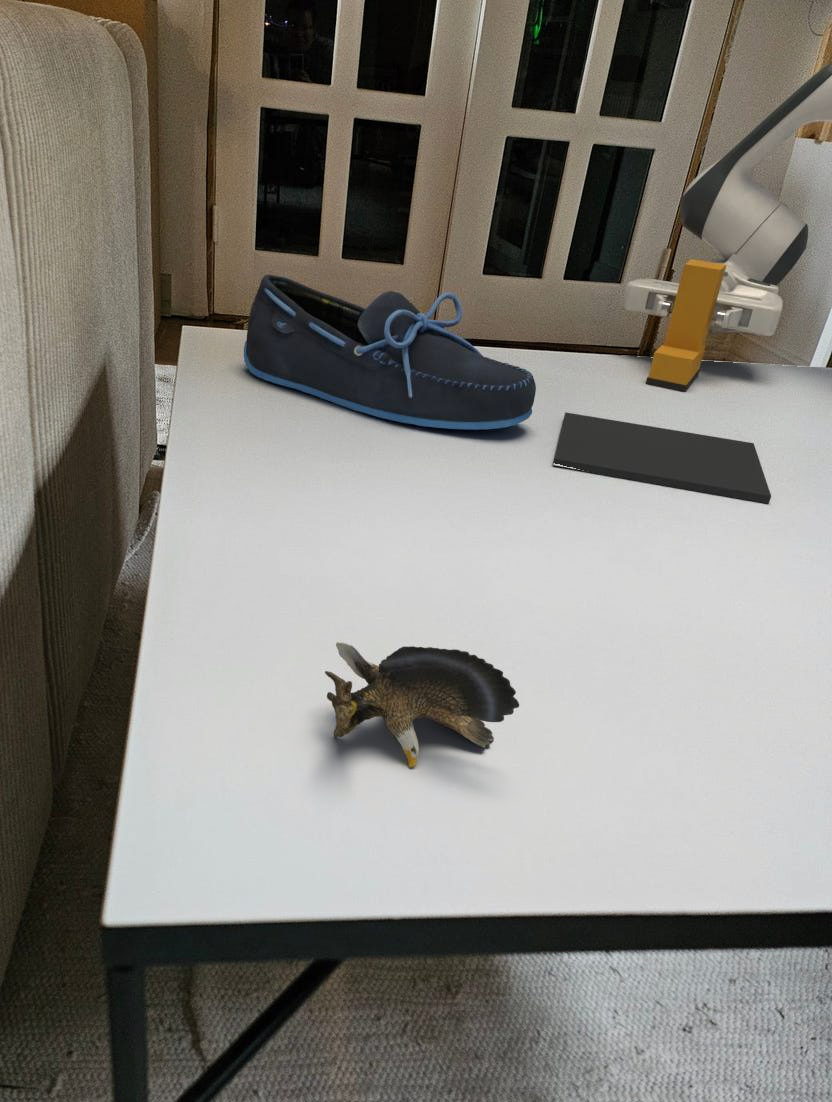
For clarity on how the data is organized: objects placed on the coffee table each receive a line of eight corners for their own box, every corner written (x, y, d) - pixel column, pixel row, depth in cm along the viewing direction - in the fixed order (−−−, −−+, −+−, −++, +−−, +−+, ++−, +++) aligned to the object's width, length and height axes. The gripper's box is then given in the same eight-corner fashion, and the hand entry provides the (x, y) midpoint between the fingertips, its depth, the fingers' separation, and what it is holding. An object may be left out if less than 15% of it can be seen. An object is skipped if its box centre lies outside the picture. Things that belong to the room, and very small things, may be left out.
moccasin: (505, 455, 92) (527, 332, 86) (203, 384, 103) (204, 271, 97) (542, 419, 103) (564, 308, 97) (265, 359, 114) (270, 256, 108)
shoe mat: (751, 450, 100) (753, 443, 100) (768, 504, 87) (771, 496, 86) (563, 419, 104) (565, 412, 103) (552, 466, 90) (554, 458, 90)
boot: (661, 367, 128) (689, 258, 121) (698, 375, 126) (729, 265, 119) (645, 383, 120) (674, 267, 113) (685, 392, 118) (717, 274, 111)
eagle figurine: (354, 791, 45) (532, 752, 46) (325, 645, 45) (504, 609, 46) (336, 771, 53) (489, 738, 54) (312, 646, 53) (465, 616, 54)
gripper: (639, 263, 133) (617, 275, 122) (791, 288, 126) (782, 303, 115) (628, 309, 136) (606, 325, 125) (776, 336, 129) (765, 355, 118)
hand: (691, 314), depth 120 cm, fingers open, 6 cm apart
